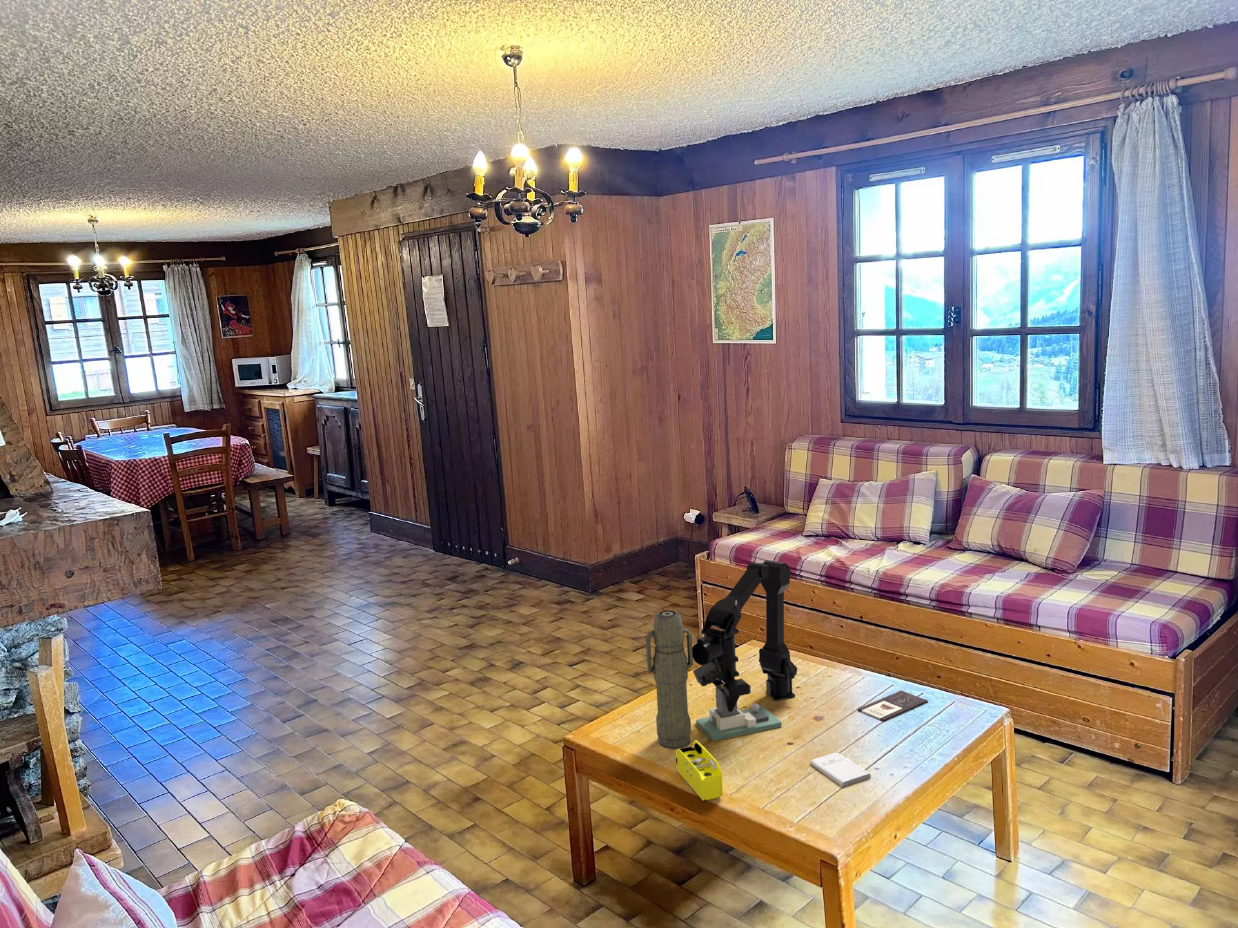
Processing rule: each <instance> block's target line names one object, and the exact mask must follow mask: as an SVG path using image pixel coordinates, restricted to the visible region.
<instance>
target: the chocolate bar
mask: <svg viewBox="0 0 1238 928" xmlns="http://www.w3.org/2000/svg"><path fill="white" fill-rule="evenodd" d="M924 703H925V704H927V703H929V702H928V700H927V699H925V698H923V697H920V696H917V695H914V694H912V693H909V692H906V691H904V690H899V691H897V692H893V693H892V694H890V695H887V696H885V697H882V698H880V699H878V700H875V701H873V702H871V703H868V704H865V705H863V706H862V707H858V708H857V711H858V712H860V713H862V714H865V715H867V716H870V717H872V718H875V719H876V720H877V719H878V720H880V721H882V722H886V721H889V720H891V719H894V718H896V717H898V716H901V715H902V714H905V713H907V712H909V711H911V710H913V708H914V709H916V708H918V707H920V706H923V705H925V704H924Z"/></svg>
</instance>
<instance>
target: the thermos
mask: <svg viewBox="0 0 1238 928" xmlns="http://www.w3.org/2000/svg"><path fill="white" fill-rule="evenodd" d="M652 625H653V629H652V630H651V631H649V632H648V633H647V634H646V637H645V650H646V664H647V671H648V673H652V674H653V679H654V681H655V687H656V703H657V705H656V707H657V714H656V717H655V722H656V735H657V743H658V745H659V746H660V747H661V748H663V749H668V750H677V749H682V748H686V747H689V745H691V742H692V739H691V734H692V725H691V724H692V723H691V722H692V721H691V717H690V714H689V708H688V706H689V705H688V691H687V690H688V687H687V680H688V678H689V673H688V672H689V669H691V667H692V666H693V665H694V659H693V653H692V647H693V636H692V633H691V632H690V630H689V629H688V628H686V627H684V624H683V621H682V618H681V615H680V613H679V612H677V611H675V610H671V609H670V610H661V611H660V612H657V613H656V614H655V617H654V620H653V624H652ZM685 634H686V645H687V646H686V647H687V648H686V649H687V654H686V651H685V646H684V643H685V642H684V641H685V639H684V638H685V637H684V635H685ZM651 638H653V639H654V641H653V642H654V645H655V646H654V652H653V653H654V654H653V658H652V650H651V649H652V648H651Z"/></svg>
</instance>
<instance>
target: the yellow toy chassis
mask: <svg viewBox="0 0 1238 928" xmlns="http://www.w3.org/2000/svg"><path fill="white" fill-rule="evenodd" d="M675 764H676V771H677V772H678V773H679V774H680V776H682V778H683V779H684V780H685V783H686V785H689V786H690V790H693V791H694V792H695V793H696V795H697V796H699V798H700V799H701V800H702V801H703V802H704V801H709V800H713V799H718V798H719V797H720V796H721V797H724V792H723V775H722V774H723V772H722V770H721V766H720V764H719V762H718V761H717V759H716V758H715V757H714V756H713V755H712V754H711V753H710V752H709V751H708V750H707V748H705V747H704V746H703V745H702V744H701V743H700V742H699V741H698V740H697V739H695V740H694V741H693V745H692V746H686V747H684V748H680V749H675Z"/></svg>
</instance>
